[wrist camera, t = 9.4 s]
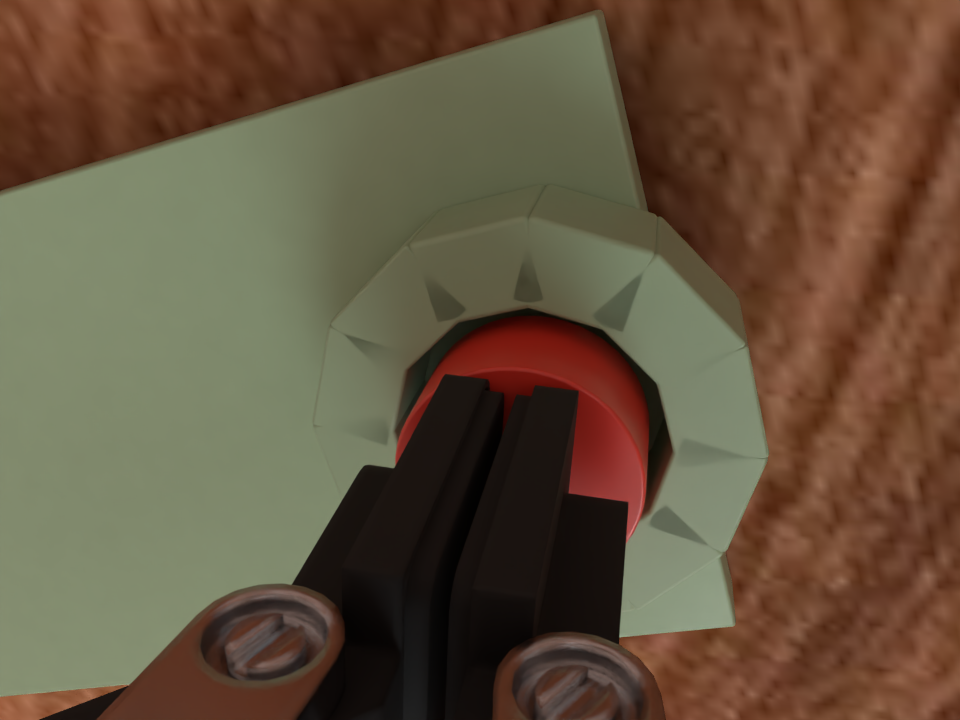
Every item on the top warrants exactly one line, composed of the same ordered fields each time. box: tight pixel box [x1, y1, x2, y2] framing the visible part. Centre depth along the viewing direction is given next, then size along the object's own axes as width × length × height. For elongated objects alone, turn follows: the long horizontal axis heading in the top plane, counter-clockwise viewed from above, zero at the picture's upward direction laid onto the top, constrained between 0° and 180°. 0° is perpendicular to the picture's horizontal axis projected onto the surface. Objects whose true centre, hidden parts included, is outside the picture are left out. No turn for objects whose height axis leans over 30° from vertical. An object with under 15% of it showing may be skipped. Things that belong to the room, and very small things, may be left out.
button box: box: [0, 10, 769, 697], centre depth 15 cm, size 17×10×3 cm, turn 106°
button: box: [395, 316, 649, 543], centre depth 12 cm, size 3×3×2 cm
